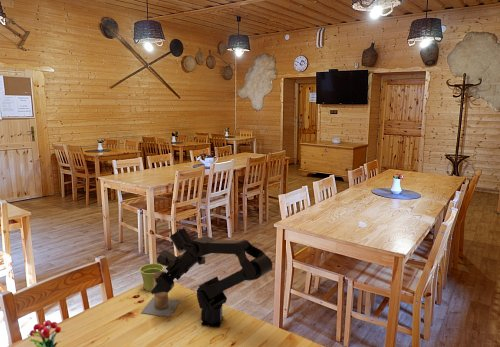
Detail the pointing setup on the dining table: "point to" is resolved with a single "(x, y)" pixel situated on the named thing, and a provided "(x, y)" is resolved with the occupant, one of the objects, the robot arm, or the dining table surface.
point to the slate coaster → (166, 312)
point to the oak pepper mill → (160, 296)
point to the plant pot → (150, 275)
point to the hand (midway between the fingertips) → (157, 286)
